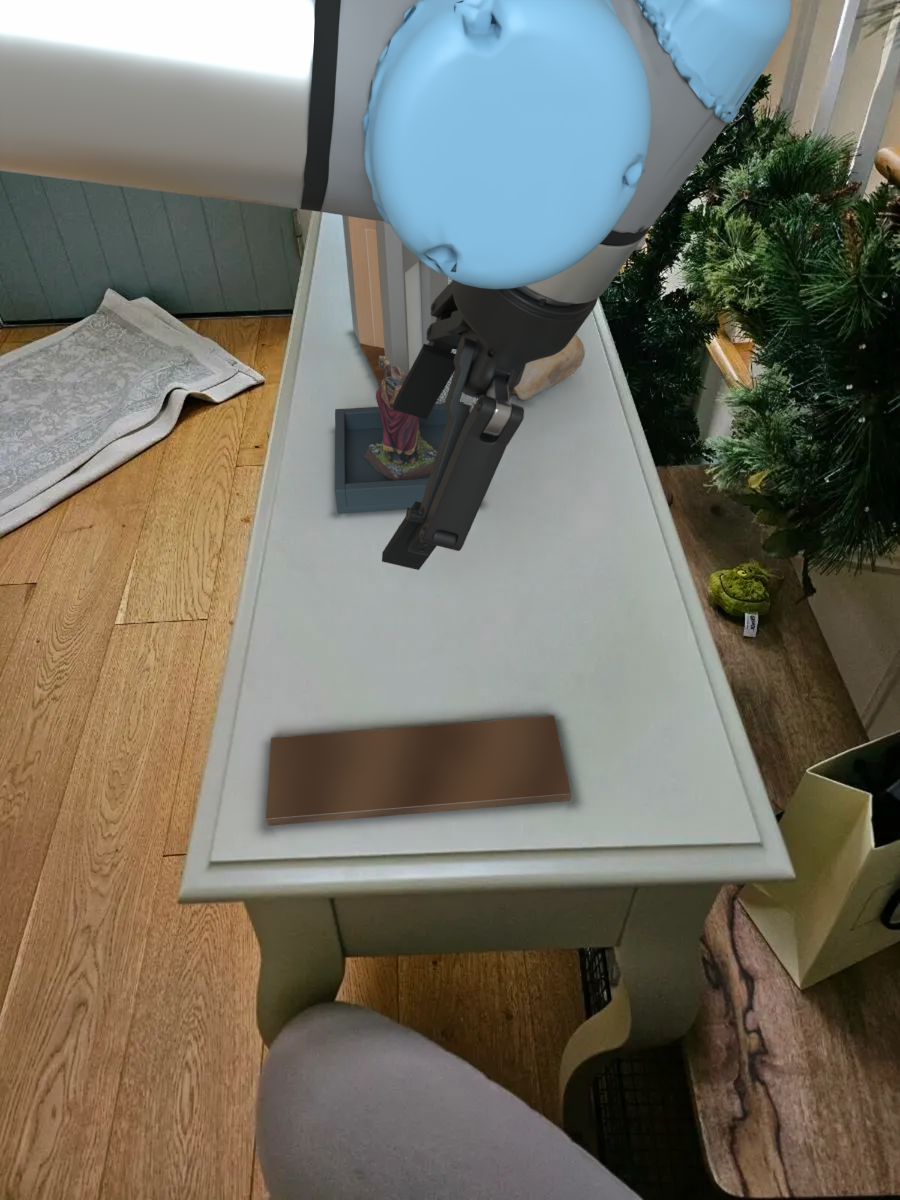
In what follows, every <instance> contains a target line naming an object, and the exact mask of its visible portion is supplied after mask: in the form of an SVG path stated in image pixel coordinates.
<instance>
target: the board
mask: <svg viewBox="0 0 900 1200" xmlns="http://www.w3.org/2000/svg"><path fill="white" fill-rule="evenodd" d="M571 792H572V791H571V789H570V783H569V778H568V774H567V769H566V764H565V761H564V755H563V751H562V746H561V741H560V736H559V732H558V726H557V722H556V718H555V715H549V716H536V717H535V716H534V717H522V718H510V719H509V718H508V719H497V720H496V719H495V720H482V721H470V722H469V721H468V722H457V723H443V724H433V725H432V724H431V725H418V726H406V727H405V726H404V727H393V728H392V727H391V728H380V729H379V728H378V729H367V730H354V731H339V732H327V733H315V734H314V733H313V734H303V735H301V734H300V735H289V736H288V735H287V736H277V737H275V736H274V737H271V738H270V748H269V765H268V780H267V797H266V811H265V820H266V821H265V822H266V824H267V827H270V826H271V827H272V826H285V825H296V824H307V823H308V824H309V823H319V822H331V821H332V822H333V821H343V820H357V819H368V818H380V817H392V816H404V815H415V814H416V815H417V814H427V813H428V814H429V813H441V812H451V811H462V810H463V811H464V810H476V809H477V810H478V809H487V808H500V807H513V806H525V805H535V804H537V805H538V804H547V803H561V802H570V800H571V795H572V793H571Z"/></svg>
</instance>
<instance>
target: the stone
mask: <svg viewBox="0 0 900 1200" xmlns="http://www.w3.org/2000/svg"><path fill="white" fill-rule="evenodd" d="M584 346H585V345H584V344H583V341H582V340H581V338H580V337H579V336H578V335H577V334H575V335H574V337H573V338H572V339H571V341H570V342H569V344H568V345H567V346H566V347H565V348H564V349H563V350H562V351H560V352H559V353H557V354H555V355H553V356H550V357H546V358H542V359H538V360H535V361H532V362H529V363H527V364H526V365H525V369H524V372H523V375H522V378H521V381H520V383H519V384H518V385H517V386H516V387H514V389H513V392H512V394H514V395H515V394H516V395H517V397H518V398H519V400H521V401H522V400H523V401H526V400H527V401H528V400H530V399H532V398H534V397H535V396H537V395H539V394H540V393H542V392H543V391H546V390H547V389H549V388H551V387H553V386H555V385H556V384H559V383H560V382H562V381H564V380H566V379H567V378H569V377H570V376H572V375H573V374H574V373H575V372H577V370H579V369H580V367H581V366H582V364H583V361H584V359H585V356H586V355H585V352H586V351H585V347H584Z"/></svg>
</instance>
